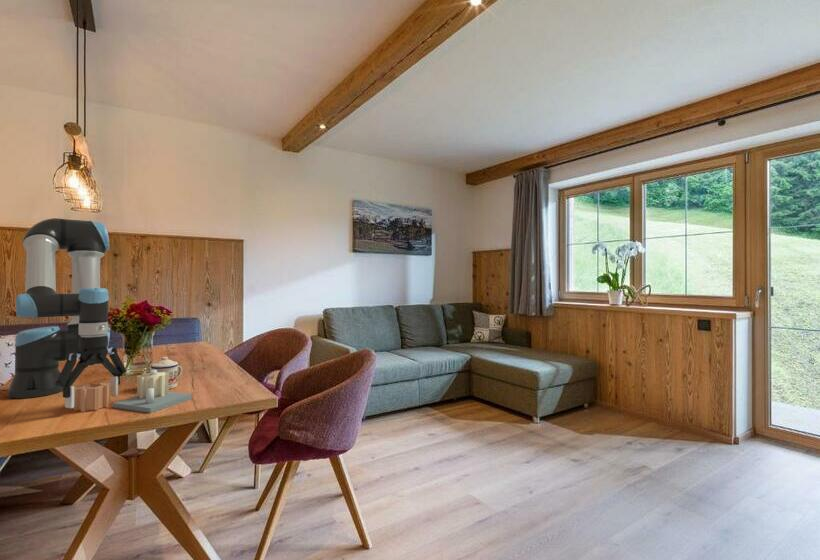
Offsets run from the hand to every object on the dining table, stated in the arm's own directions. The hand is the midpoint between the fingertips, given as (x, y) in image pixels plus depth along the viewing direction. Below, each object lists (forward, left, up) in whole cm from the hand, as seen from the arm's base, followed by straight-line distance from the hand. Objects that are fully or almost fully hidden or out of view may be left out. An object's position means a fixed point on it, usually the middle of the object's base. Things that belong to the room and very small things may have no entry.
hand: (92, 401), depth 130 cm
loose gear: (0, 0, -2) cm, 2 cm away
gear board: (+14, +10, -2) cm, 17 cm away
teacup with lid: (+1, +27, -2) cm, 27 cm away
